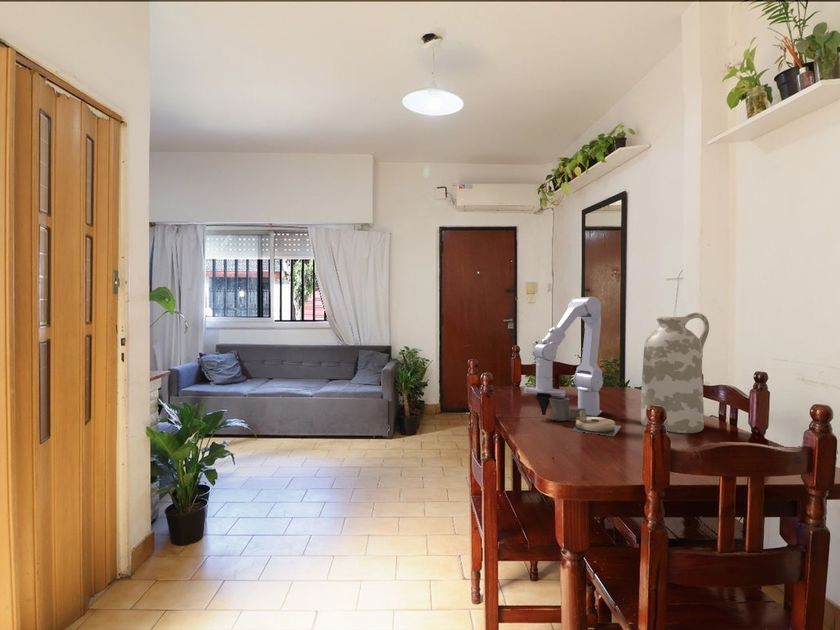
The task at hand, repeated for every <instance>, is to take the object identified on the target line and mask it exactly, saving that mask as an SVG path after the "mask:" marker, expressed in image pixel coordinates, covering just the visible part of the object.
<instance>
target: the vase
mask: <svg viewBox="0 0 840 630" xmlns="http://www.w3.org/2000/svg"><path fill="white" fill-rule="evenodd" d="M655 319H656V321H657V323H658V327H657V328H656V329H655V330H653V331H651V333H650V334H649V335H648V336H647V337H646V339H645V342H644V345H643V346H644V348H643V359H642V360H643V361H642V373H641V374H642V376H641V393H640V394H641V395H640V397H641V400H640V424H641V425H642V426H644V427H646V424H647V419H646V409H647V407H648V406H649V405H660V406H664V407H665V408H666V410H667V420H666V422H665V425H666V427H667V430H668V432H667V433H674V434H675V433H676V434H696V433H699V432H702V431H703V430H704V428H705V419H704V417H705V412H704V410H705V409H704V385H703V384H704V382H703V353H704V351H703V350H704V345H705V343H706V341H707V338H708V336H709V331H710V322H709V319H708V318H707V317H706V316H705V315H704V314H703V313H700V312H692V313H688V314H686V315H684V316H657V317H655ZM694 319H700V320H701V321H702V324H703V327H702V332H701V334H700V337H698V336H697V335H696V334H695V333H694V332H693V331H692V330H690V329H688V328H686V325H687V323H688V322H689V321H690V320H694Z"/></svg>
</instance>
